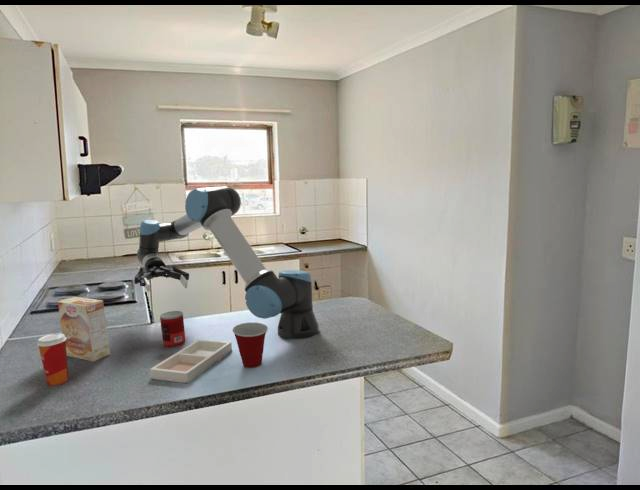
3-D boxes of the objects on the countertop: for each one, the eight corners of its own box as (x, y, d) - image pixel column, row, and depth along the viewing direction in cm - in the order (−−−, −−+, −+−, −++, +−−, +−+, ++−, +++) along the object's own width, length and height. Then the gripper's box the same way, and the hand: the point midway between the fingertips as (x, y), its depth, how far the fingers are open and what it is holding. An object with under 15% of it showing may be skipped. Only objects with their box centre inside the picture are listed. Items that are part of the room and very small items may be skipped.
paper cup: (50, 377, 144) (44, 333, 142) (76, 374, 145) (70, 331, 143) (38, 388, 137) (30, 343, 135) (65, 386, 137) (58, 341, 135)
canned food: (189, 339, 171) (186, 310, 170) (180, 347, 164) (177, 317, 162) (168, 339, 172) (165, 310, 170) (159, 347, 164) (156, 317, 163)
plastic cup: (255, 374, 139) (252, 335, 137) (228, 367, 144) (224, 330, 142) (277, 360, 148) (274, 324, 146) (251, 355, 153) (248, 320, 151)
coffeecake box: (64, 355, 162) (56, 301, 159) (83, 348, 168) (75, 296, 165) (92, 362, 155) (84, 305, 152) (111, 354, 161) (103, 299, 158)
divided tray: (199, 347, 163) (198, 339, 162) (232, 350, 158) (231, 342, 158) (151, 378, 139) (150, 369, 139) (187, 383, 135) (186, 373, 134)
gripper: (184, 272, 196) (200, 292, 179) (120, 276, 183) (131, 299, 166) (185, 255, 194) (201, 274, 177) (121, 258, 180) (132, 279, 164)
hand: (168, 286), depth 171 cm, fingers open, 13 cm apart
